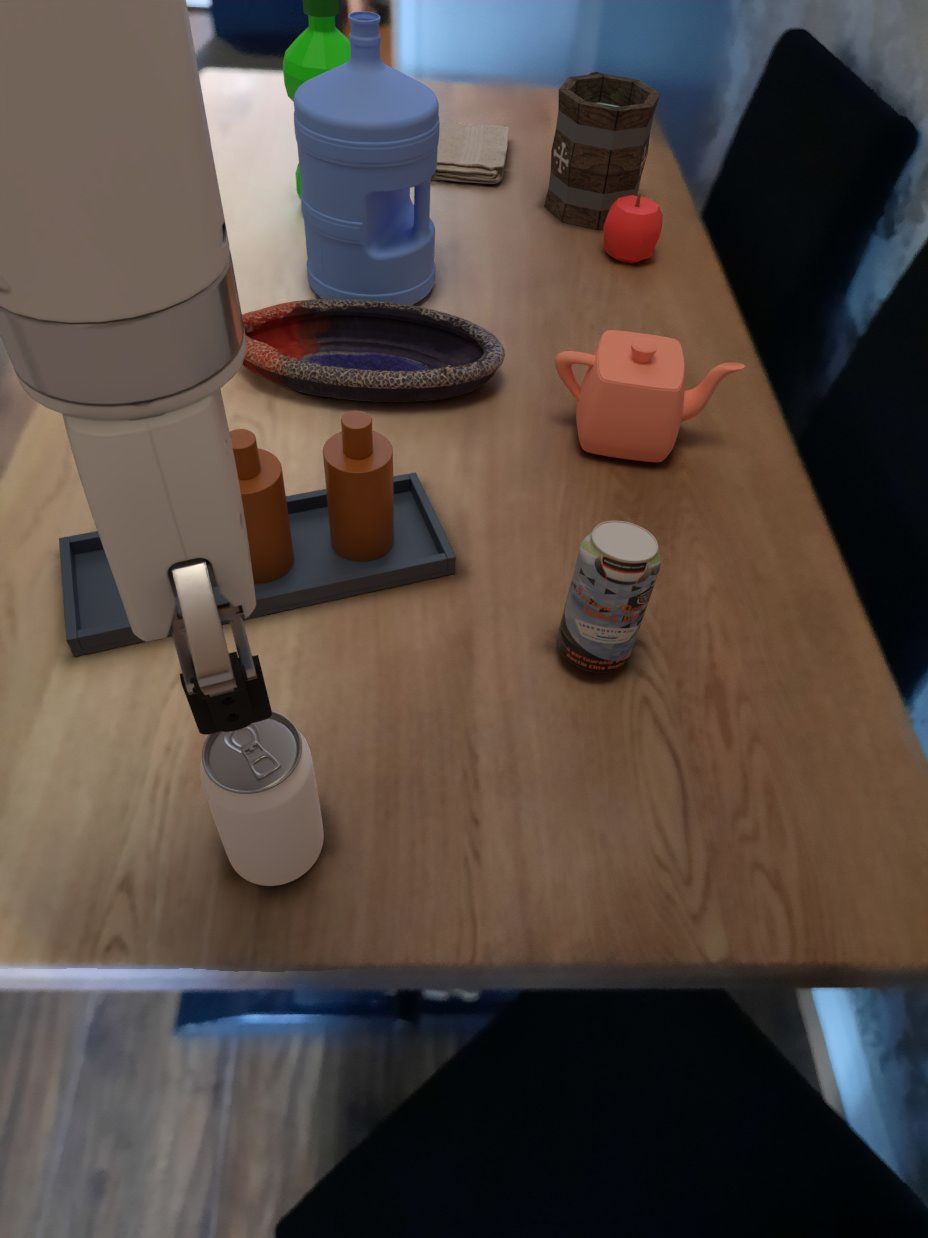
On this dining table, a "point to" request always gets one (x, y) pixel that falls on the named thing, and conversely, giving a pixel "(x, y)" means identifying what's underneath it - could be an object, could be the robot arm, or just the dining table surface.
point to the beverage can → (608, 596)
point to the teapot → (635, 394)
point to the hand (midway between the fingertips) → (218, 640)
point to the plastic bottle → (315, 50)
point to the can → (264, 799)
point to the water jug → (367, 175)
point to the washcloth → (471, 153)
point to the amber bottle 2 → (359, 489)
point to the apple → (632, 228)
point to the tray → (309, 581)
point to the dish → (369, 350)
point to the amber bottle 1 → (263, 507)
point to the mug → (598, 146)
